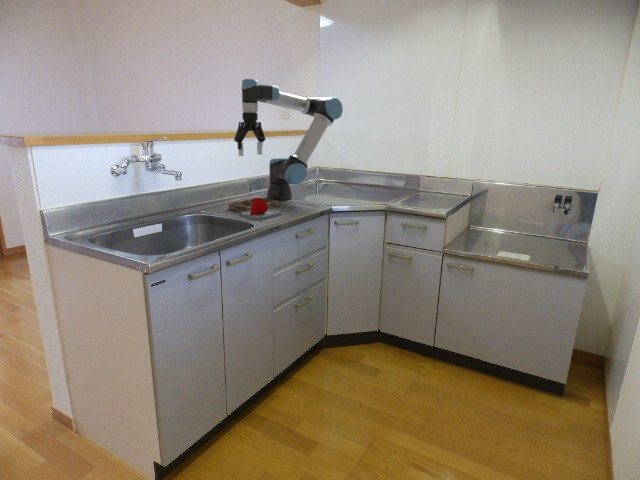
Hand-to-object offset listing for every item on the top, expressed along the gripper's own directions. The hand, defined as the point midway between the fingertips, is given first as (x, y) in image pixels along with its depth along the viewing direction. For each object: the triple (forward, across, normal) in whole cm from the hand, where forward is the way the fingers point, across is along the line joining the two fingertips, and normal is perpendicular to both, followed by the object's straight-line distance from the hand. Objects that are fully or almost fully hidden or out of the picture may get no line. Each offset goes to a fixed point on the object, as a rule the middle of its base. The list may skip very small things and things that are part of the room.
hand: (250, 155), depth 216 cm
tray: (+27, +12, +18) cm, 34 cm away
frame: (+27, +2, +4) cm, 27 cm away
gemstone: (+26, +15, +19) cm, 35 cm away
